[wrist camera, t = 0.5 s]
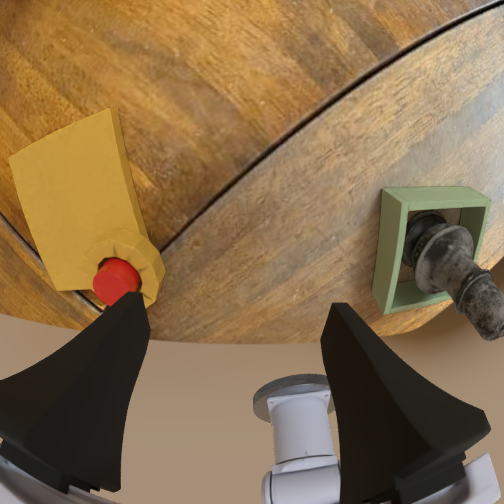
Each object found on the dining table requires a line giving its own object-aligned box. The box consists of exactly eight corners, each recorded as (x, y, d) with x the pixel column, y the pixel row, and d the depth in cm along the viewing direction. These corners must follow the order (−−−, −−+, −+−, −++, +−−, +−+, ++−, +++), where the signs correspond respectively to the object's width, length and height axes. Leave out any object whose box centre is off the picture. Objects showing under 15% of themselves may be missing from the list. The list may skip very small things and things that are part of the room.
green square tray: (450, 277, 21) (465, 295, 19) (370, 292, 22) (383, 315, 19) (469, 186, 17) (491, 199, 14) (381, 188, 17) (401, 202, 15)
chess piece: (438, 268, 21) (509, 363, 10) (387, 270, 21) (457, 387, 10) (456, 209, 18) (553, 293, 7) (404, 203, 18) (513, 305, 7)
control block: (177, 285, 21) (168, 310, 18) (67, 292, 22) (53, 312, 19) (131, 102, 14) (110, 103, 12) (17, 154, 15) (-7, 163, 12)
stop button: (145, 291, 18) (138, 307, 17) (111, 293, 18) (103, 308, 17) (131, 255, 17) (121, 269, 15) (96, 259, 17) (85, 273, 15)
